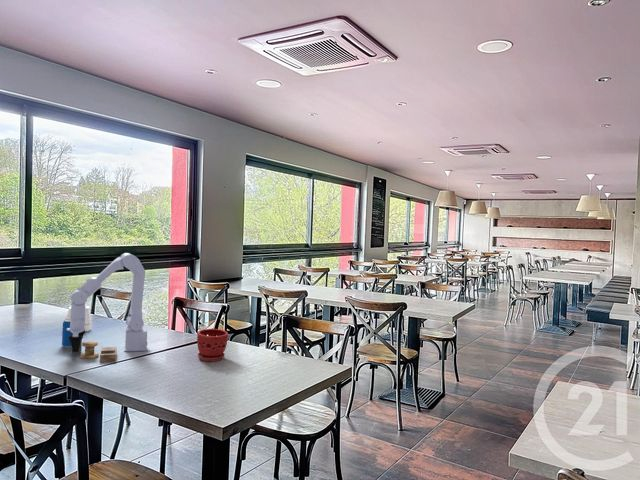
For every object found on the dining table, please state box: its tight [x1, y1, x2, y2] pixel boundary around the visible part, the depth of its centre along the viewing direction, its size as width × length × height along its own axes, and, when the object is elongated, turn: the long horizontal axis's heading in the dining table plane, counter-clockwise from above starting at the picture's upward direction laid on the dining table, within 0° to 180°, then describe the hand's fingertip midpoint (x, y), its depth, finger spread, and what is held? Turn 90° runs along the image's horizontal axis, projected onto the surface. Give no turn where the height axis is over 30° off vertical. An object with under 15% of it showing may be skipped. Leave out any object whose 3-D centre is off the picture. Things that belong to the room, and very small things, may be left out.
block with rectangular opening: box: [99, 346, 118, 363], centre depth 202 cm, size 6×12×3 cm, turn 22°
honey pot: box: [64, 303, 92, 333], centre depth 246 cm, size 13×13×18 cm
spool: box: [79, 340, 100, 360], centre depth 202 cm, size 7×7×6 cm
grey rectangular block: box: [70, 339, 83, 356], centre depth 204 cm, size 4×4×7 cm
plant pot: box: [196, 328, 229, 362], centre depth 209 cm, size 13×13×12 cm
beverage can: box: [61, 319, 72, 349], centre depth 216 cm, size 6×6×12 cm
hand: (76, 349), depth 204 cm, fingers open, 7 cm apart
